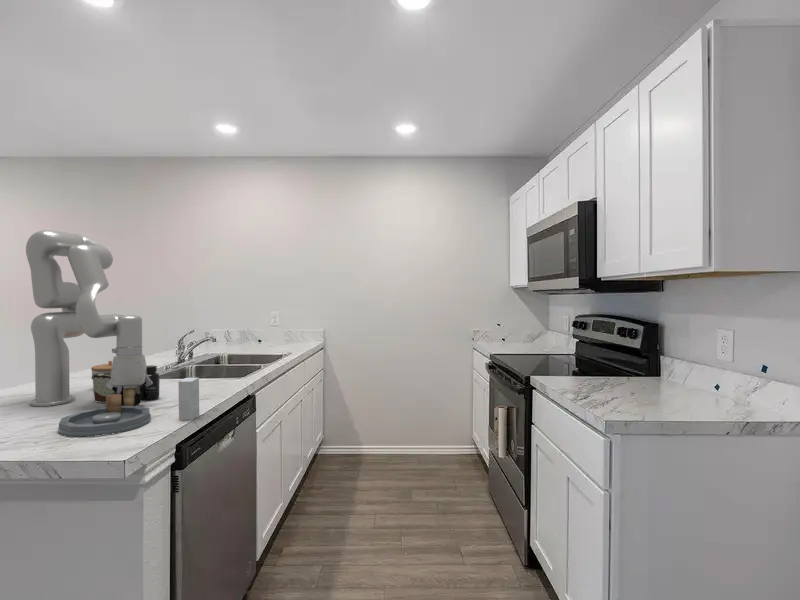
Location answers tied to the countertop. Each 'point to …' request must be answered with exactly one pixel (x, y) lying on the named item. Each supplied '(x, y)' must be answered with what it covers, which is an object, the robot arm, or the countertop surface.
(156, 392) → the supplement bottle
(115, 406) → the walnut bead
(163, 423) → the countertop surface
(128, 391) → the oak bead
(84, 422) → the slate tray
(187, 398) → the skincare box
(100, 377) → the food container
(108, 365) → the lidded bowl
